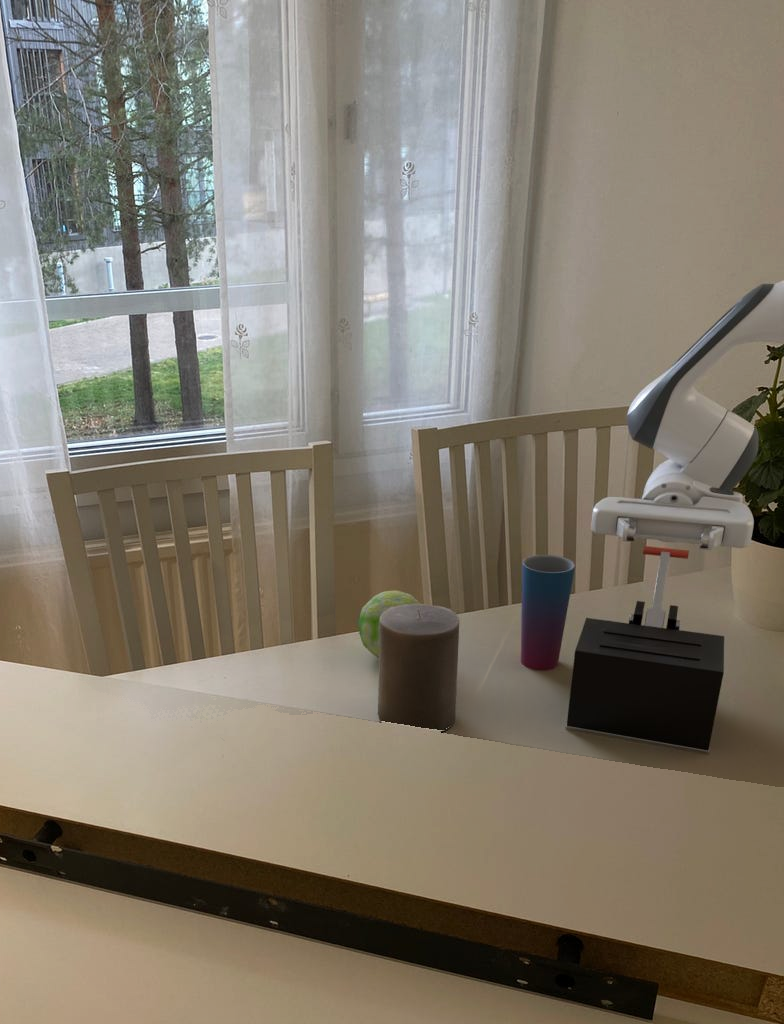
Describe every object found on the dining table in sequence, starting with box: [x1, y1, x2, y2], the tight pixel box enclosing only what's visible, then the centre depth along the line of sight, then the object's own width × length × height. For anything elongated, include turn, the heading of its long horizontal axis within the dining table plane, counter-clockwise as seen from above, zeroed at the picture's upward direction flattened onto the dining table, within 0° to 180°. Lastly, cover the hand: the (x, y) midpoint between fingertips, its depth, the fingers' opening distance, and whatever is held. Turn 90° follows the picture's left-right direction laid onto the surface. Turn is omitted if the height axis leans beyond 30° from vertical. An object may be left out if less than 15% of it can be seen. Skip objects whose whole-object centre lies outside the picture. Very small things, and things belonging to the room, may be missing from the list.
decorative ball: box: [358, 590, 421, 658], centre depth 128 cm, size 10×10×10 cm
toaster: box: [564, 617, 725, 756], centre depth 110 cm, size 16×10×11 cm, turn 67°
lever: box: [642, 545, 690, 628], centre depth 116 cm, size 12×6×2 cm
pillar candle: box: [377, 603, 460, 731], centre depth 112 cm, size 10×10×15 cm
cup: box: [520, 554, 576, 672], centre depth 124 cm, size 7×7×15 cm
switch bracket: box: [628, 600, 682, 630], centre depth 117 cm, size 6×8×12 cm
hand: (667, 540), depth 117 cm, fingers open, 8 cm apart
